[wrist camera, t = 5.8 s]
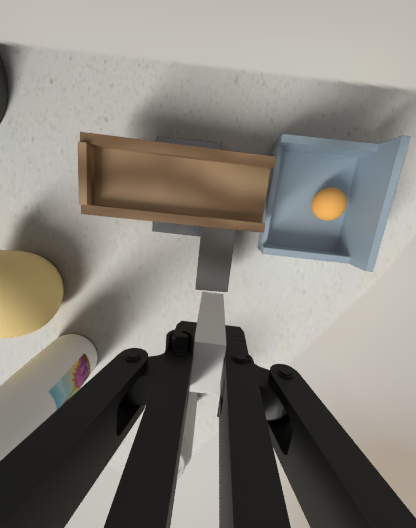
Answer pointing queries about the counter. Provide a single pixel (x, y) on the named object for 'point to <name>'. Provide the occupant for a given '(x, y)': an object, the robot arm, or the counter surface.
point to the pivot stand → (175, 227)
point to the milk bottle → (43, 387)
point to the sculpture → (27, 292)
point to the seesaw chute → (177, 192)
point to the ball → (329, 204)
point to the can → (188, 433)
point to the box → (325, 176)
